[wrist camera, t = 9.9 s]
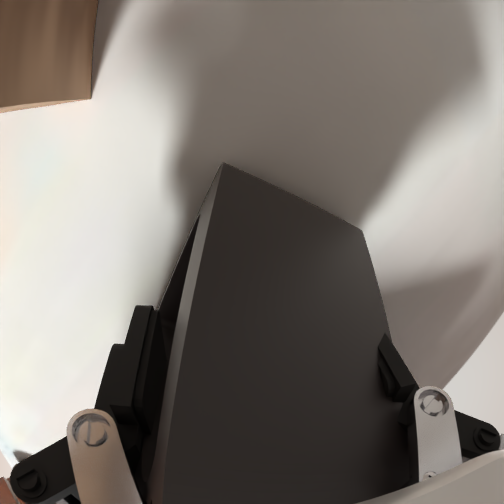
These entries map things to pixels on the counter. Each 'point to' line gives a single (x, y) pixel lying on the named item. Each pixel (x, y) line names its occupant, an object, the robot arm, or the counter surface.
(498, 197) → the counter surface
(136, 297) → the counter surface
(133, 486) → the robot arm
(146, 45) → the counter surface
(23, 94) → the brown wooden blocks
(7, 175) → the counter surface
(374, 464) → the phone stand
